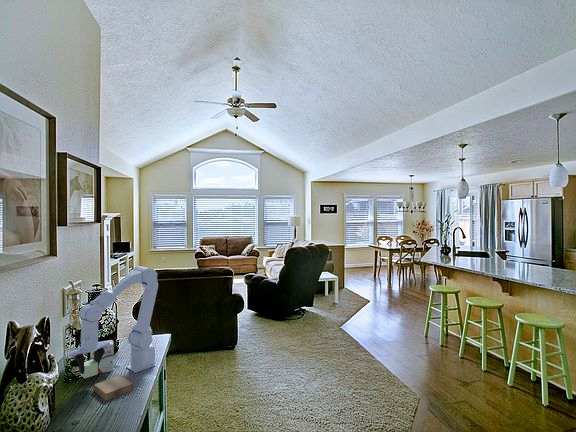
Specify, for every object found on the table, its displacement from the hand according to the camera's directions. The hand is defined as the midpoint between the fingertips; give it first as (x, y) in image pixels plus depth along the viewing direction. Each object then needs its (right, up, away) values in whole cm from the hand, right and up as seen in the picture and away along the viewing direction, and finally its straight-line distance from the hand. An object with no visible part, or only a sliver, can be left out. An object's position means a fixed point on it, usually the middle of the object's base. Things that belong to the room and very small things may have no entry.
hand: (89, 370), depth 130 cm
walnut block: (+11, -7, -2) cm, 13 cm away
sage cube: (0, -1, 0) cm, 1 cm away
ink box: (-2, -6, +13) cm, 15 cm away
